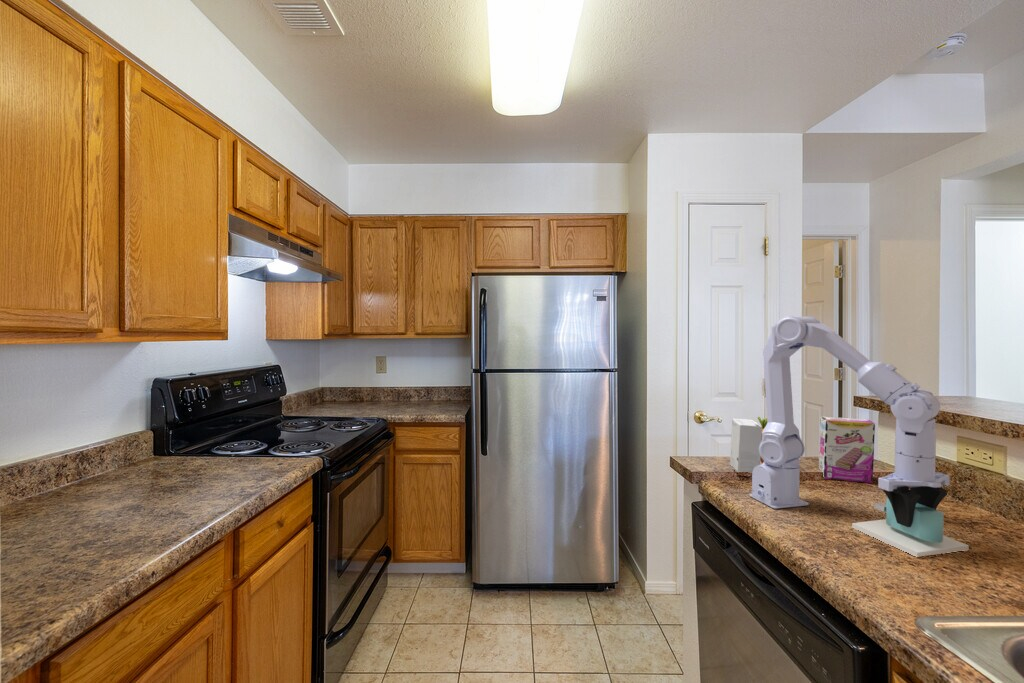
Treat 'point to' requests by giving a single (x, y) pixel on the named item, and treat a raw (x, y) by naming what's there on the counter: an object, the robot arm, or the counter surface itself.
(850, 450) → the candy bar box
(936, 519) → the plug block
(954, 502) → the counter surface
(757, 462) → the skincare box
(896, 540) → the tile
